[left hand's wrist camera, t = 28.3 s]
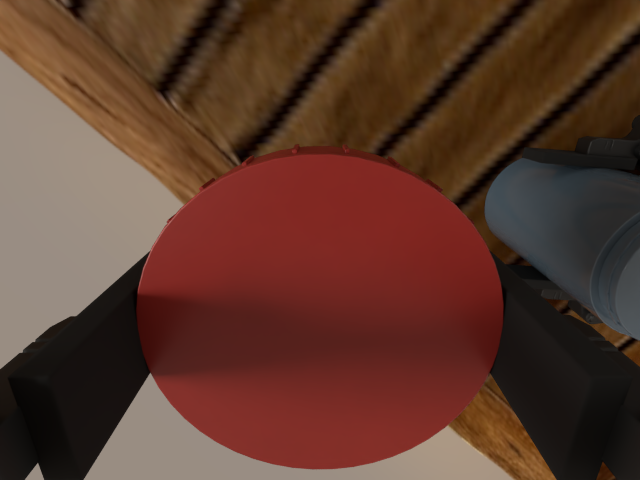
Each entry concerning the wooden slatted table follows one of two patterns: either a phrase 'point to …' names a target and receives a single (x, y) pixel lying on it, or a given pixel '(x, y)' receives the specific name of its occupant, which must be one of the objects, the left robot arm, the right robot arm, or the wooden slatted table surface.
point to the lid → (320, 309)
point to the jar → (575, 233)
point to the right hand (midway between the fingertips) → (515, 218)
